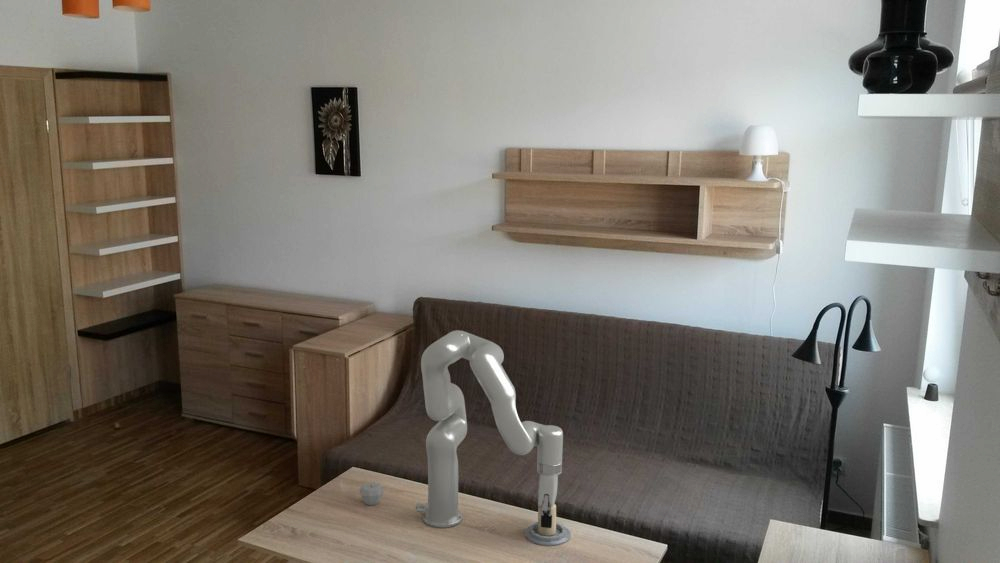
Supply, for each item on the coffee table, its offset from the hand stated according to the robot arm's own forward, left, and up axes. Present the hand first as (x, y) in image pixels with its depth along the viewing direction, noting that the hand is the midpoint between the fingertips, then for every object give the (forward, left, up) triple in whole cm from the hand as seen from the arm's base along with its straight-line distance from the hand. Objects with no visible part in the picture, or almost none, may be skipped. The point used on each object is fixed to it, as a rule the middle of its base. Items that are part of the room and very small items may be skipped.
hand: (547, 521), depth 254 cm
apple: (-60, +9, -5) cm, 61 cm away
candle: (0, 0, -4) cm, 4 cm away
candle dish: (0, 0, -4) cm, 4 cm away
